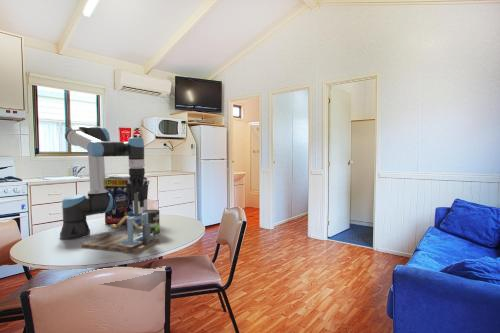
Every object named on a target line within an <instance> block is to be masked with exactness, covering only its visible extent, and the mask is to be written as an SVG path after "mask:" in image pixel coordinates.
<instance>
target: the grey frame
mask: <svg viewBox="0 0 500 333" xmlns="http://www.w3.org/2000/svg"><path fill="white" fill-rule="evenodd" d="M138 200H139V194H138V192H136V193H134V216H133V217H131V218H128V219H127V224H126V226H127V236H128V240H124V241H122V244H125V245H135V246H136V245H138V244H139V241H140V240H142V239H143V234H142V232H139V233H138V234H137V236H135V237H136V238H134V239H133V237H134V229H133V221H134V220H137V219H140V218H143V225H145V224H148V213H141V214H138ZM150 238H155V237H154V234H150Z"/></svg>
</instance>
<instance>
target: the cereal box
mask: <svg viewBox="0 0 500 333" xmlns="http://www.w3.org/2000/svg"><path fill="white" fill-rule="evenodd" d="M129 178H130V176H109V177H105V183H106V190H108V191H109V194H111V195H112V198H113V206H112V208H111V210H110V211H109V212H106V213H104V223H105V224H106V225H107V224H109V225H111V224H113V225H117V224H118V223H119V222H120V221H121V220H122V218H123V217H124V216H127V215H129V212H130V211H132V212H133V207H132V201H131V200H130V199H128V195H127V187H126V183H125V181H126V180H129ZM144 178H145V180H147V181H148V178H147V177H144ZM143 183H144V182H143ZM131 184H132V183H131ZM143 185H144V184H143ZM137 192H138V188H137ZM144 210H148V198H147V199H146V200H144V207H143V211H144ZM126 221H127V219H126V220H125V221H124V222H123V223H122V224H121V225H127V224H126ZM139 226H142V222H140V225H139Z"/></svg>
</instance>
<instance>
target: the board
mask: <svg viewBox="0 0 500 333" xmlns="http://www.w3.org/2000/svg"><path fill="white" fill-rule="evenodd" d="M136 237H137V236H133V239H134V238H136ZM124 240H128V235H122V234H121V235H119V234H109V233H107V234H105V235H102V236H100V237H96V238H94V239H91V240H88V241H86V242H84V243H81V248H87V249H95V250H96V249H97V250H105V251H115V252H122V253H123V252H126V253H131V254H132V253H133V254H139V253H140V252H143V251H144V250H146V249H149V247H152V246H153V245H155V244H157V243H159V242H160V239H159V238H155V237H152V238H150V241H151V243H150V244H148V245H143V239H142V240H140V241H139V244H138V245H136V246H135V245H125V244H122V241H124Z"/></svg>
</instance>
